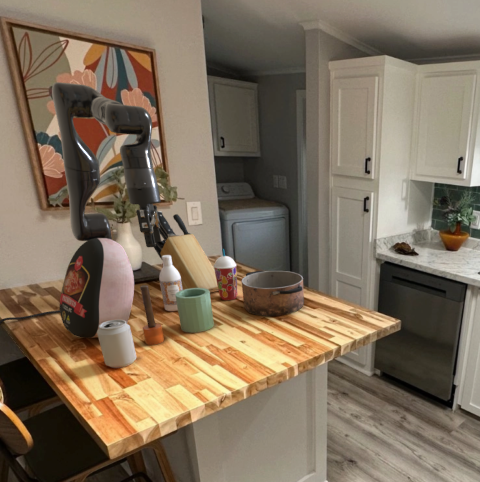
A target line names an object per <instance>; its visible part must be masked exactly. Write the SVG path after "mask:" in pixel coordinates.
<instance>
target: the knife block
mask: <svg viewBox="0 0 480 482" xmlns="http://www.w3.org/2000/svg"><path fill="white" fill-rule="evenodd" d="M157 211H158V216H159V221H160V227H159V232H160V237H162V238H163V240H161V241H160V242H155V244H156V246H155V247H153V249H154V250H155V252H156V254H157V255H158V257H159V258H160V259H161V260H162V256H164V255H171V259H172V265H173V266H174V267H175V268H176V269H177V271H178V272H179V274H180V276H181V282H182V288H183V290H185V289H190V288H204V289H208V290H209V291H210V293H213V292H214V293H215V292H219V290H218V285H217V280H216V275H215V270H214V265H213V264H212V262H211V261H210V258H208V256H207V254H206V252H205V251H204V250H203V247H202V246H201V244H200V242H199V241H198V239H197V238H196V236H195V235H194V233H190V232H189V231H188V229H187V227H186V224H185V223H184V220H183V219H182V218H181V217H180V215H179V214H178V213H176V214H173V216H172V218H173V220H174V221H175V222H176V224H177V225H178V227H179V229H180V231H182V233H183V234H182V235H180V234H176V233H175V232H174V230H173V228H172V227H171V225H170V223H169V222H168V219H166V217H165V216H164V214H163V211H161V210H157Z"/></svg>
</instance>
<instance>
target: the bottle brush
mask: <svg viewBox="0 0 480 482" xmlns="http://www.w3.org/2000/svg"><path fill="white" fill-rule="evenodd" d="M139 289H140V292H141V299H142V303H143V308H144V313H145V317H146V323H147V324H145V325H144V326H142V332H143V337H144V341H145V344H146V345H149V346H152V345H158V344H159V345H160V344H161V343H163V342H164V341H165V338H164V332H163V328H162V324H161V323H156V320H155V315H154V311H153V305H152V300H151V299H152V298H151V295H150V290H149V289H150V288H149V285H147V284H142V285H139Z"/></svg>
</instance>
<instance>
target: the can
mask: <svg viewBox="0 0 480 482" xmlns="http://www.w3.org/2000/svg"><path fill="white" fill-rule="evenodd" d="M97 334H98V337H97V338H98V342H99V345H100V349H101V353H102V357H103V361H104V364H105V366H108V367H110V368H113V369H119V368H125V367H127V366H130V365H132V364H133V363H134V361H136V359H137V352H136V348H135V343H134V339H133V334H132V330H131V325H129V324H128V323H127V324H126V321H125V320H110V321H106V322H103V323H101V324H100V325H99V329H98V331H97Z"/></svg>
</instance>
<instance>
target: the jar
mask: <svg viewBox="0 0 480 482" xmlns="http://www.w3.org/2000/svg"><path fill="white" fill-rule="evenodd" d="M175 296H176V302H177V308H178V311H177V314H178V319H179V325H180V329H181V331H182V332H185V333H201V332H206V331H209V330H210V329H212V328H213V327H214V326H215V321H214V313H213V307H212V306H213V305H212V299H211V292H210V291H209V290H208V289H204V288H190V289H185V290H181V291H179V292H177V293H176V295H175Z"/></svg>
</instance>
